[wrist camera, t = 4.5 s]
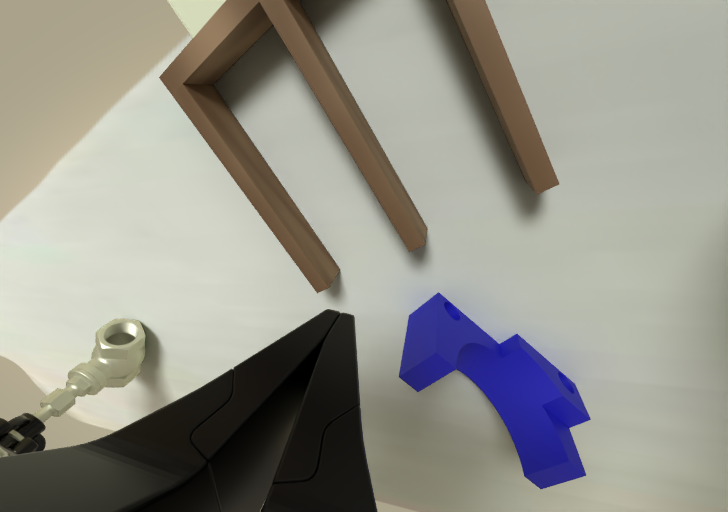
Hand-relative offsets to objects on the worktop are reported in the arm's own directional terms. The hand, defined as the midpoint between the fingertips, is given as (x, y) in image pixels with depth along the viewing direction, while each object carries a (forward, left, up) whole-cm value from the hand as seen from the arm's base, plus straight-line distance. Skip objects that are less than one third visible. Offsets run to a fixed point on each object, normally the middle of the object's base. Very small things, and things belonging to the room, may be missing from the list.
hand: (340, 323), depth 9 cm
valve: (+31, 0, -12) cm, 33 cm away
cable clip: (-1, +13, -12) cm, 18 cm away
